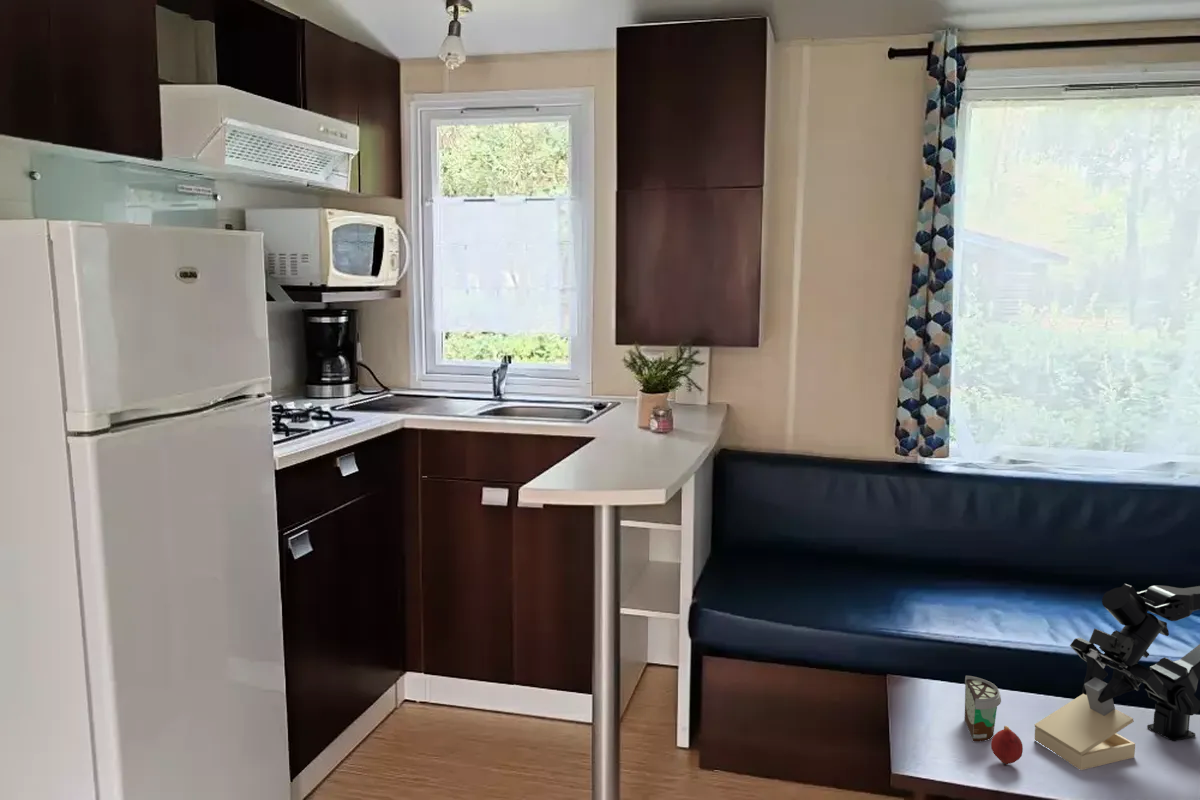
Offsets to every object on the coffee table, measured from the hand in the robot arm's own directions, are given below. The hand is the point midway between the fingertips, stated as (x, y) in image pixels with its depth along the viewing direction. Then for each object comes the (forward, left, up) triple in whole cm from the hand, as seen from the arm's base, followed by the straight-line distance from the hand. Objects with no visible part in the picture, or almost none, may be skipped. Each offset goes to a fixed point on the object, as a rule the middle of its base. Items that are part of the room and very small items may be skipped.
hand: (1091, 697), depth 189 cm
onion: (+20, -1, -11) cm, 23 cm away
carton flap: (+2, 0, -6) cm, 6 cm away
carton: (+1, 0, -11) cm, 11 cm away
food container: (+15, -13, -11) cm, 23 cm away
